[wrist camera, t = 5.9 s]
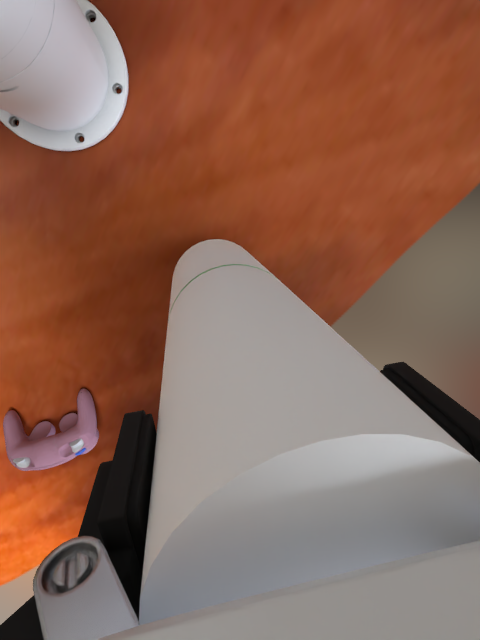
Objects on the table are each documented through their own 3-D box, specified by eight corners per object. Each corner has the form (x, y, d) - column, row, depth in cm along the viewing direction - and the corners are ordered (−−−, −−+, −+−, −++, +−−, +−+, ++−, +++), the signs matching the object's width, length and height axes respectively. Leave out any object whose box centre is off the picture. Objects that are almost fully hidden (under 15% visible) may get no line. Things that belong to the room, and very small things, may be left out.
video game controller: (25, 427, 45) (15, 485, 40) (1, 409, 41) (-13, 469, 37) (105, 403, 45) (104, 457, 40) (87, 383, 42) (84, 439, 37)
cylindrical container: (183, 332, 31) (187, 756, 8) (163, 248, 29) (81, 498, 5) (265, 315, 32) (500, 661, 8) (252, 231, 29) (536, 388, 6)
